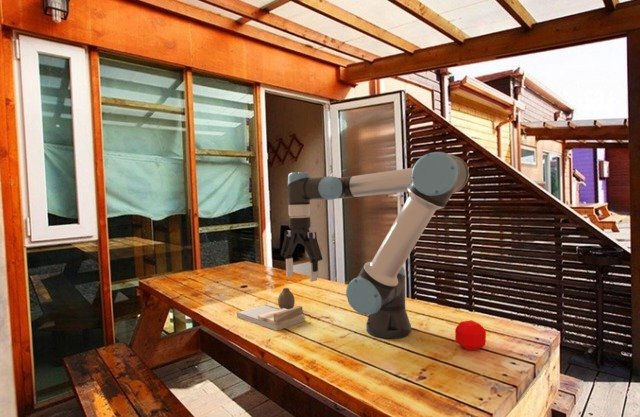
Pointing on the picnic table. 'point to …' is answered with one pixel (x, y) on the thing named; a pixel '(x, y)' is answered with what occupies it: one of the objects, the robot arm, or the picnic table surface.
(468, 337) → the ball
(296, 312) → the cover
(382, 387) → the picnic table surface
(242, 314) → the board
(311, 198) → the robot arm
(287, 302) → the vase
